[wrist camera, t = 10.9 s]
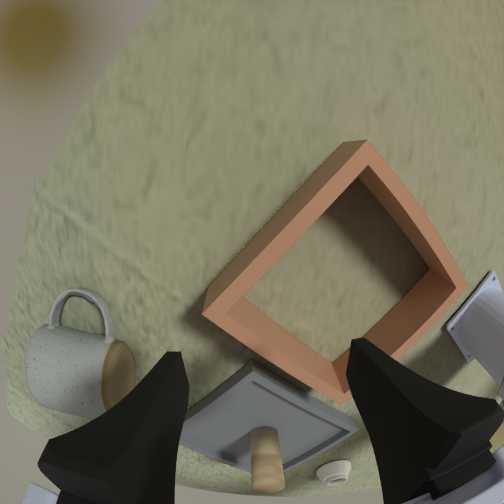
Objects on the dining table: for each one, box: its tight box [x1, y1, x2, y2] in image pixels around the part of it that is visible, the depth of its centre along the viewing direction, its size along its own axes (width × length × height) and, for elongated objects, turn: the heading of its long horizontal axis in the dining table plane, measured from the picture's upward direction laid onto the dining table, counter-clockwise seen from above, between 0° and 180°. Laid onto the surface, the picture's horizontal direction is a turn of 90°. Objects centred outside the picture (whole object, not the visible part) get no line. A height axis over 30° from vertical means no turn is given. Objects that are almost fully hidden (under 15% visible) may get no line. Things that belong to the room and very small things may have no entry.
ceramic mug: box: [25, 288, 135, 419], centre depth 19 cm, size 11×8×8 cm
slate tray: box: [179, 360, 360, 473], centre depth 26 cm, size 16×14×2 cm
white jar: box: [316, 460, 351, 486], centre depth 30 cm, size 5×3×5 cm
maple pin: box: [250, 426, 285, 493], centre depth 23 cm, size 3×3×7 cm
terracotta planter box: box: [202, 140, 468, 405], centre depth 19 cm, size 14×14×4 cm
